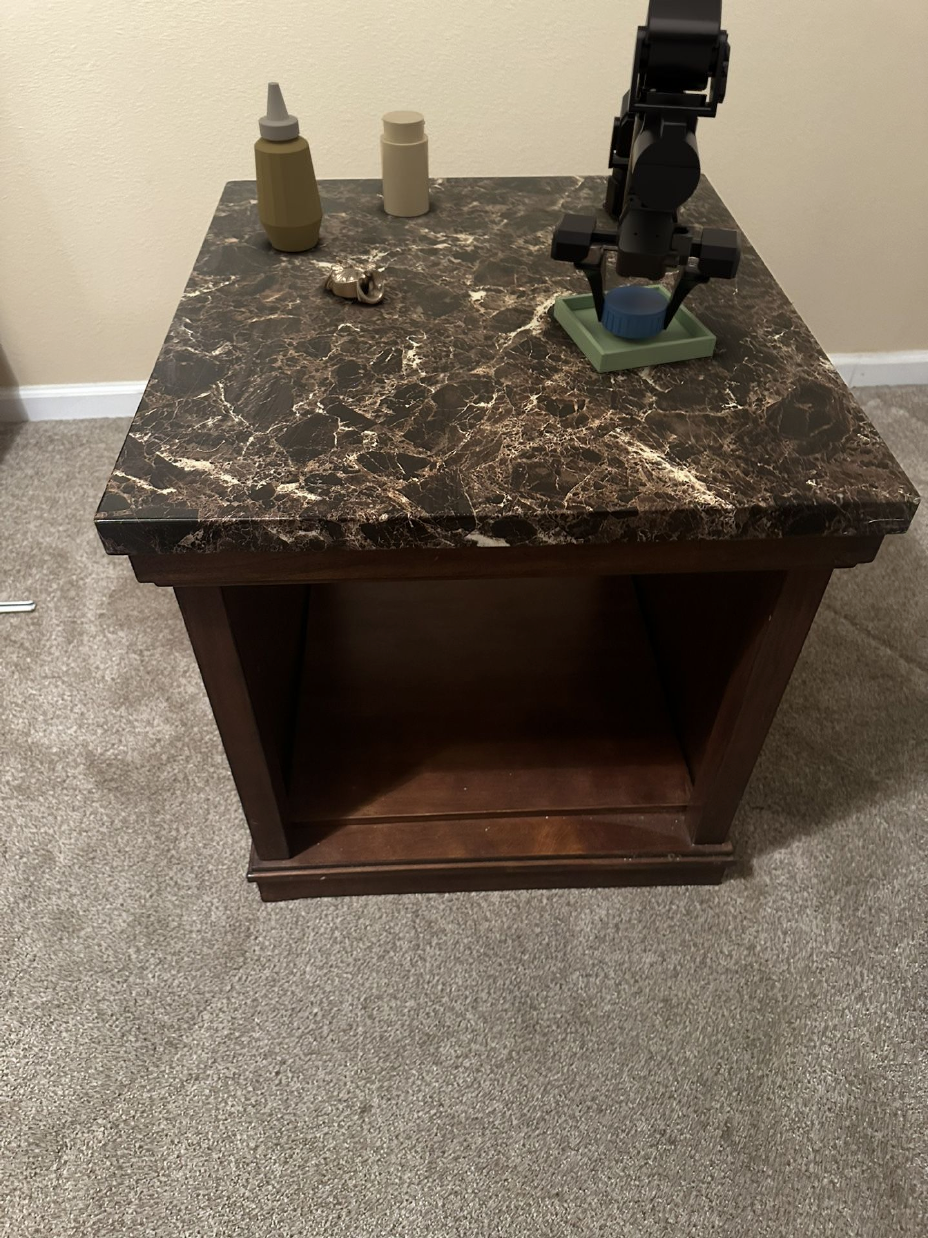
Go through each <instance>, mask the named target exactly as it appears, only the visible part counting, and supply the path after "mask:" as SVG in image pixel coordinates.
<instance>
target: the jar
mask: <svg viewBox="0 0 928 1238" xmlns="http://www.w3.org/2000/svg"><path fill="white" fill-rule="evenodd" d="M381 121H382V127H383V128H382V130H383V132H382V134H380V136H379V144H380V147H379V148H380V162H381V163H380V165H381V179H382V180H381V181H382V201H383V210H384V212H385V213H386V214H388V215H391V216H394V217H400V218H412V217H413V218H414V217H418V216H422V215H424V214H426V213H428V212H429V211H430V162H429V159H430V156H429V155H430V154H429V136H428V134H426V133H425V125H426V120H425V116H424V115H423V113H421V112H418V111H413V110H392V111H388V112H386V113H385V114H383V115H382V117H381Z"/></svg>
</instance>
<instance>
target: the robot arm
mask: <svg viewBox="0 0 928 1238" xmlns="http://www.w3.org/2000/svg"><path fill="white" fill-rule="evenodd" d="M646 12H647V13H646V16H645V17H646V18H645V24H644V25H637V28H636V34H635V40H634V49H633V56H632V64H631V74H630V81H629V82H630V83H629V89H628V90H627V91H626V92H625V93H624V94H623V96H622V98H621V105H620V112H619V116H614V118H613V123H612V130H611V137H610V142H609V143H610V144H609V152H608V161H607V162H608V163H607V169H608V170H611V175H609V176H608V179H607V186H606V193H605V201H604V202H602V208H603V209H604V210H605V211H607V212H608V213H609V214H610V215H611V216H612V217H613V218H614V219H615V220H616V221H618V224H617V230H613V229H600V228H597V222H598V220H597V219H598V216H594V215H585V214H575V213H564V214H562V216H561V217H560V218H558V220H557V223H556V225H555V228H554V230H553V232H552V238H551V246H550V247H551V248H550V259H551V260H554V261H555V262H566V263H572V264H573V265H572V266H573V269H574V270H577V271H581V272H582V273H583V274H584V275H585V277H586V279H587V281H588V284H589V287H590V290H591V293H592V295H593V300H594V305H595V309H596V314H597V319H598V322H601V320H602V315H603V303H604V298H605V291H606V287H607V286H606V285H607V284H606V283H607V256H608V252H614V253H615V252H616V254H617V255H616V262H615V269H614V270H615V274H616V275H617V276H618V277H620V278H625V279H629V278H638V279H639V278H640V279H647V280H648V281H652V282H657V281H662V279H664V278H665V276H666V273H667V268H669V269H678V270H677V274H676V277H675V280H674V284H673V287H672V290H671V292H670V293H671V296H670V299H669V302H668V308H667V313H666V316H665V320H664V326H663V327H664V328H663V330H666V329H667V328H668V326H669V324H670V322H671V321H672V319H673V317H674V316H675V314H676V312H677V310H678V309H679V307H680V305H681V304H682V305H683V302H684V300H685V299H686V298H687V296H688V295H689V294H690V292H691V291H692V290H693V289H694V288H696V287H697V286H698V285H699V284H701V285H706V284H709V283H710V280H711V278H712V279H722V280H728V281H730V280H733V279H736V277H737V273H738V269H739V265H740V262H741V261H740V260H741V255H742V237H741V235H740V233H739V232H738V231H737V230H732V229H723V228H713V227H704V226H703V227H702V230H701V236H700V238H694V235H695V229H696V227H695V226H694V225H687V224H682V223H680V217H681V212H682V208H683V207H682V206H683V204H685V203H687V202H688V201H689V199H690V198H691V197H692V196H693V195H694V193H695V192H696V190H697V188H698V185H699V183H700V180H701V174H702V169H701V168H702V167H701V160H700V153H699V146H698V141H697V135H696V134H697V129H698V124H699V118H707V119H708V118H709V119H715V118H716V117H717V111H718V105H719V104H723V103H724V100H725V97H726V93H727V86H728V85H727V84H728V75H729V65H730V57H731V49H732V48H731V44H730V43H729V42H728V41H729V40H728V39H729V33H728V29H722V14H723V13H722V12H723V0H648V5H647V11H646ZM709 78H710V83H709ZM708 85H709V92H708V93H709V94H706V93H703V92H705V90H707V89H708ZM693 92H695V93H693ZM696 92H697V93H696ZM699 92H700V93H699ZM708 95H709V96H708ZM707 98H708V101H707ZM678 267H679V268H678Z"/></svg>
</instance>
